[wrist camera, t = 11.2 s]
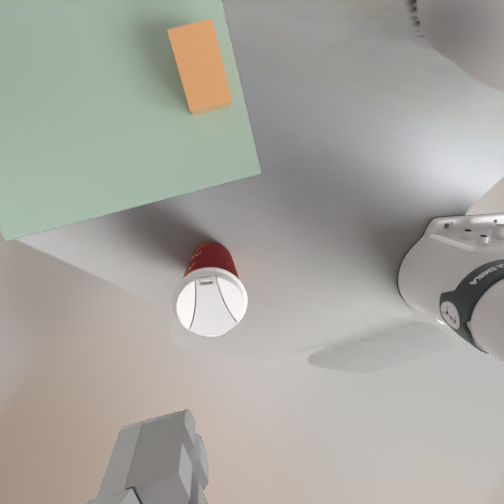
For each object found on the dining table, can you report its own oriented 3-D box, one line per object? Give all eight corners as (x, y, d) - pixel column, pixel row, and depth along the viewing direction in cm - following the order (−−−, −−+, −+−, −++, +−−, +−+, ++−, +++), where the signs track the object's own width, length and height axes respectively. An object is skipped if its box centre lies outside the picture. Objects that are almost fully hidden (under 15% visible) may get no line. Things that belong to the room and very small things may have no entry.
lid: (207, -51, 25) (205, -100, 20) (259, 172, 30) (268, 178, 25) (-95, 24, 24) (-175, -7, 19) (13, 237, 29) (-27, 256, 24)
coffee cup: (179, 238, 48) (164, 277, 34) (235, 231, 49) (244, 267, 35) (189, 290, 51) (178, 347, 37) (242, 283, 51) (252, 336, 37)
